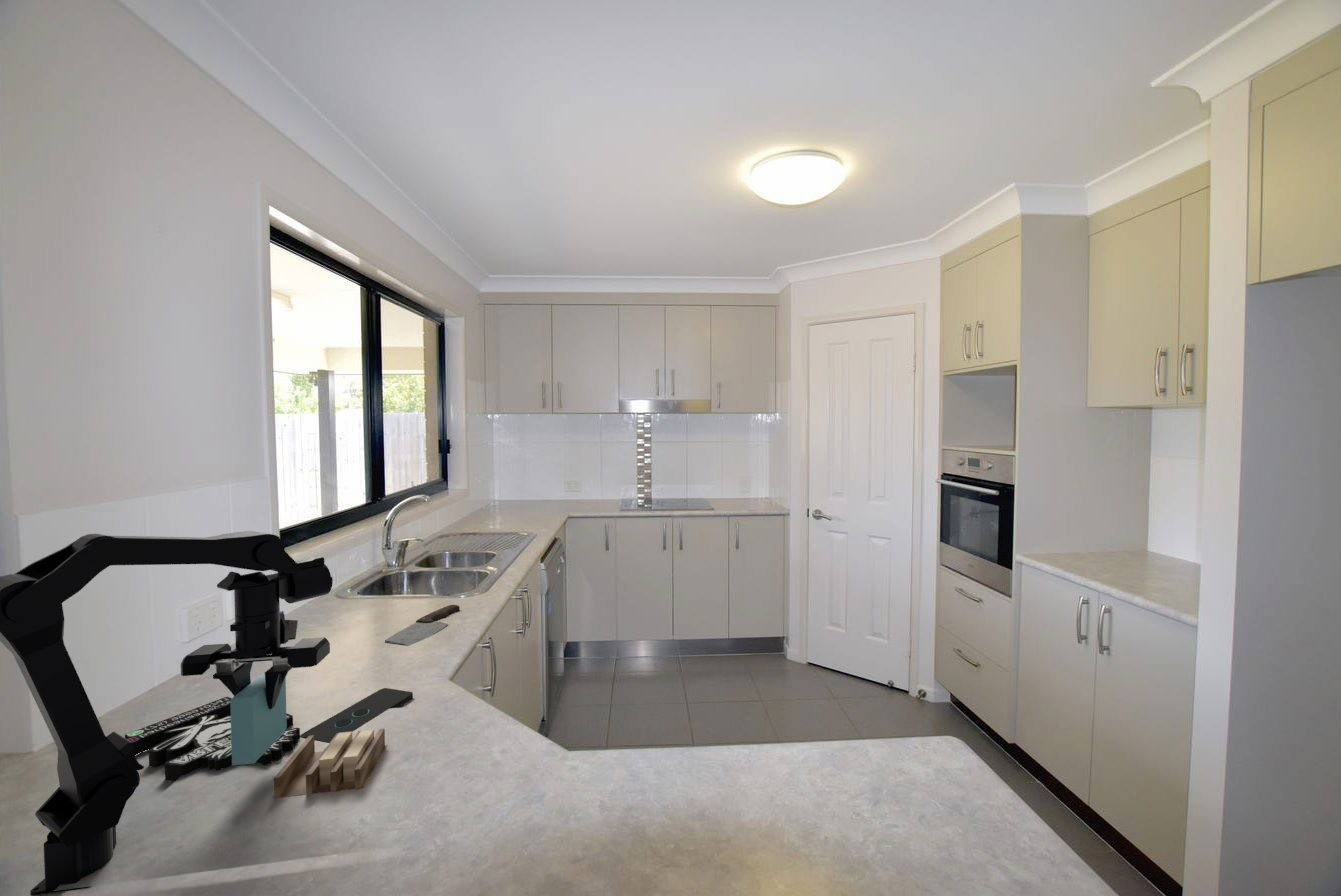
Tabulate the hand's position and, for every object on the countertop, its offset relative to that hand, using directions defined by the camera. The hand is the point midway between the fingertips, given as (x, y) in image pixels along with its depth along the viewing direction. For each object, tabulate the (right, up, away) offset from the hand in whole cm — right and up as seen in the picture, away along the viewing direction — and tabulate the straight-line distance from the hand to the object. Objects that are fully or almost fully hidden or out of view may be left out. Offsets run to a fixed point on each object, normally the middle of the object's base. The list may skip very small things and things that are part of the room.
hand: (260, 708), depth 89 cm
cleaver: (-4, -10, +73) cm, 73 cm away
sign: (-15, -12, +11) cm, 22 cm away
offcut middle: (+11, -11, +2) cm, 16 cm away
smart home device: (+4, -12, +21) cm, 25 cm away
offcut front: (+14, -11, +3) cm, 18 cm away
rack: (+10, -12, +2) cm, 16 cm away
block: (0, -6, 0) cm, 6 cm away
